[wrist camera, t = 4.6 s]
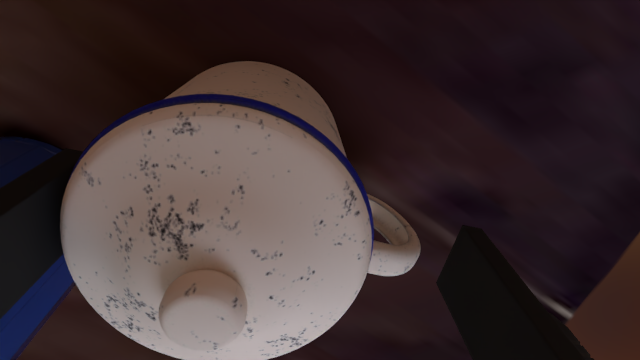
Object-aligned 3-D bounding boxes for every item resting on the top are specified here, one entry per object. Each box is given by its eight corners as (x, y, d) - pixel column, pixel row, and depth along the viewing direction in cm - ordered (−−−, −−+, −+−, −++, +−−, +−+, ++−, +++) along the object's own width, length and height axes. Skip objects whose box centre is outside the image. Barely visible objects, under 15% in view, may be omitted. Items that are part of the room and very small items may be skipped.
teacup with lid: (146, 199, 20) (-24, 418, 9) (180, 23, 17) (-27, 58, 6) (355, 256, 22) (408, 484, 12) (425, 112, 19) (588, 251, 8)
